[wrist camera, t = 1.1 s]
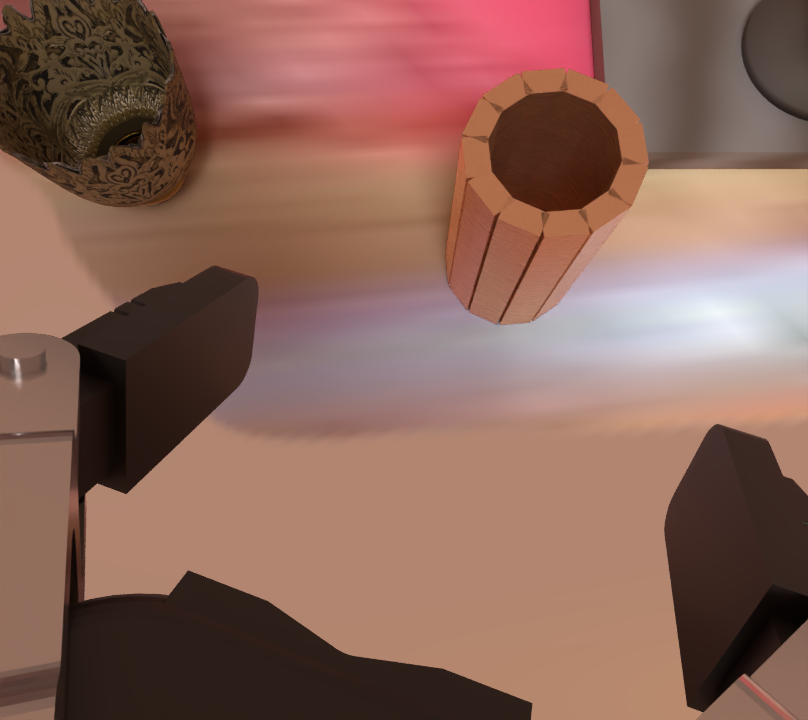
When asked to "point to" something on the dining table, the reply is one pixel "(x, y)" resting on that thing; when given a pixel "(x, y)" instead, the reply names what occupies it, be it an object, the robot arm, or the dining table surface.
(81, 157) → the bronze rounded piece
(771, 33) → the shaft stand
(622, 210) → the copper collar
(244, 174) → the dining table surface
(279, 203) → the dining table surface
